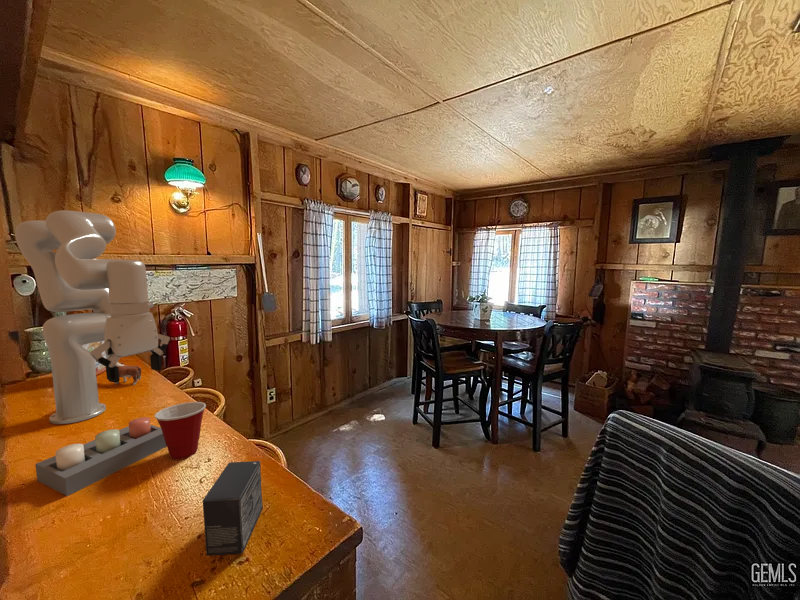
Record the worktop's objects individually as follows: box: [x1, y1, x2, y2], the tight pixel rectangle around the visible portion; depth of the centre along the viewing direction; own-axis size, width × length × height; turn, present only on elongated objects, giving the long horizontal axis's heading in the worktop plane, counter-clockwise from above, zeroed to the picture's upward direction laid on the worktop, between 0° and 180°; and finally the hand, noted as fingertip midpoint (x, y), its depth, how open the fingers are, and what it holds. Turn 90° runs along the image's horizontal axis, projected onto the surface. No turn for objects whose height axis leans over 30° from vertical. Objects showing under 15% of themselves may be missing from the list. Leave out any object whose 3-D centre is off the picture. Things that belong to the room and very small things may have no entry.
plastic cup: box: [154, 401, 207, 461], centre depth 83 cm, size 11×11×12 cm
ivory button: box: [54, 443, 85, 472], centre depth 73 cm, size 4×4×5 cm
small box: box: [202, 460, 264, 557], centre depth 60 cm, size 11×6×10 cm, turn 5°
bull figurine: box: [114, 361, 142, 386], centre depth 129 cm, size 4×13×8 cm, turn 79°
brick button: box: [128, 416, 152, 439], centre depth 86 cm, size 4×4×5 cm
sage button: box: [94, 428, 121, 454], centre depth 80 cm, size 4×4×5 cm
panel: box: [35, 424, 167, 497], centre depth 80 cm, size 12×21×4 cm, turn 158°
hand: (136, 375), depth 84 cm, fingers open, 9 cm apart
